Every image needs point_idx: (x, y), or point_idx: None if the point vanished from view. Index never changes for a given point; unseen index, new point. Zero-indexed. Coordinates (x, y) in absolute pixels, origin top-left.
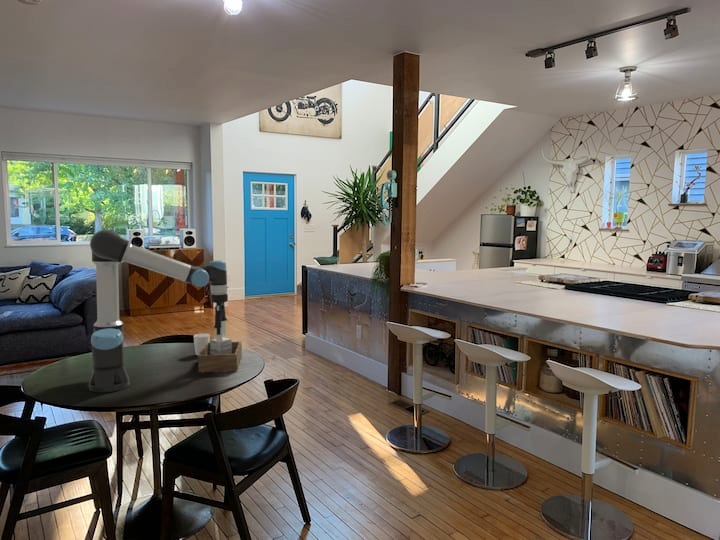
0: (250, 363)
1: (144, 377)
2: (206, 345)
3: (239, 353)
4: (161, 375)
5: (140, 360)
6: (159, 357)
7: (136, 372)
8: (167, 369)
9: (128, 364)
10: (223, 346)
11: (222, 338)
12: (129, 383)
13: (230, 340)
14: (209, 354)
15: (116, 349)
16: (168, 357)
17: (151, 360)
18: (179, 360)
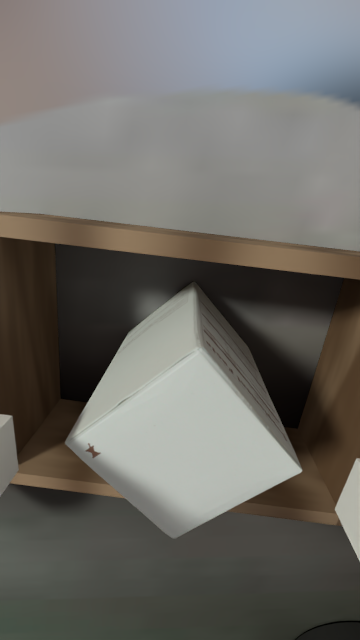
0: (208, 154)
1: (281, 592)
2: (74, 481)
3: (196, 235)
4: (278, 552)
5: (52, 607)
6: (15, 564)
7: (207, 610)
8: (199, 538)
9: (99, 630)
10: (259, 395)
11: (168, 443)
12: (353, 626)
13: (211, 352)
14: (48, 410)
15: None
16: (18, 540)
17: (57, 582)
18: (70, 506)
